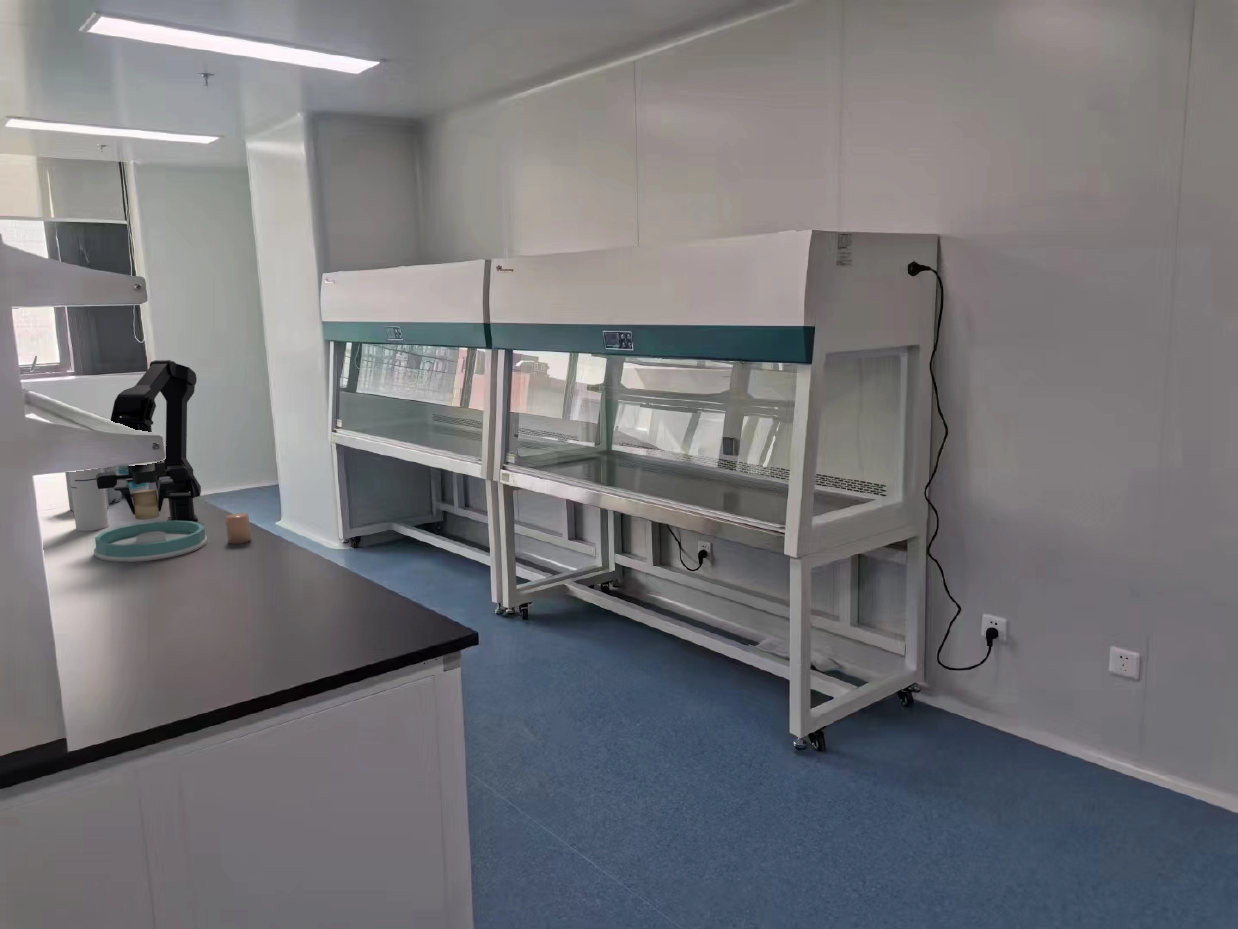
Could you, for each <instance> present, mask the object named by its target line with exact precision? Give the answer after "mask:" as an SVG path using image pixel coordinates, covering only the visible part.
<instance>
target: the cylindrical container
mask: <svg viewBox="0 0 1238 929" xmlns="http://www.w3.org/2000/svg"><path fill="white" fill-rule="evenodd" d="M98 473H103V471H102V468H98V469H91V470H84V471H76V472H69V476H70V484H71V492H72V500H73V508H74V511H73V514H74V521H75V522H74V524H75V530H76V531H80V532H90V531H99V530H102V529H105V528H108V527H109V525H110V522H109V515H108V509H107V505H106V496H105V489H98V487H97V481H96V475H97V474H98Z"/></svg>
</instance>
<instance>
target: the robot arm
mask: <svg viewBox="0 0 1238 929" xmlns="http://www.w3.org/2000/svg"><path fill="white" fill-rule="evenodd" d="M196 374H197V373H196V372H195V371H194V370H193V369H192V368H190V367H189V366H186V365H183V364H179V363H177V362H175V361H174V360H171V359H157V360H156V359H155V360H153V361H151V362H150V363H149V367H148V369H147V370H146V371H145V372H144V374H143V375H142V376H141V378H140V379H139V380H138V382H137V383H136V384H135V385H134V386H132V387H129V388H127V389H123V390H122V391H121V392H120V393H119V394H117V395H116V398H115V399H114V402H113V406H112V411H111V416H110V420H111V421H113V422H115V423H120V424H123V425H125V426H128V427H130V428H133V429H135V430H142V431H148V432H152V433H153V431H152V430H153V429H152V426H153V425H154V421H153V416H154V413H155V410H156V407H157V404H156V401H155V400H156V398H157V396H158V395H159V393H160V394H161V395H162V396H163V398H164V400H165V402H166V405H165V408H166V409H165V410H166V411H165V456H166V459H165V458H164V459H165V460H164V459H162V460H163V461H160V462H157V463H152V464H147V465H135V466H128V474H123V475H116V473H115V472H105V473H98V474H97V475H96V481H97V487H98V489H105V488H114V490H115V491H120V492H121V496H123V497H124V499H125V501H126V502H127V504H128V506H129V508H130V510H131V513H132V515H133V516H135V509H134V503H133V497H132V495H131V494H130V490H129V487H128V484H127V482H133V483H134V484H141V483H148V484H149V483H150V484H155V486H156V491H157V500H158V509H159V512H161V511H162V507H163V504H164V500H165V499H168V509H169V516H168V517H167V521H175V520H177V521H192V522H197V521H199V518H198V516H197V515H196V513H195V505H194V504H195V503H194V499H195V498H199V497H201V493H202V488H201V487H202V486H201V485H200V483H199V481H198V480H197V478H196V476H195V475H194V468H193V467H192V465H191V464H190V462H189V460H188V458H187V451H188V450H187V448H188V447H187V444H188V443H187V441H188V440H187V438H188V437H187V436H188V427H187V426H188V402H189V400H191V398H192V397H193V395H194V393H195V388H196V384H197V375H196Z"/></svg>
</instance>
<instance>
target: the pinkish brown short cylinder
mask: <svg viewBox="0 0 1238 929" xmlns="http://www.w3.org/2000/svg"><path fill="white" fill-rule="evenodd" d="M225 524H226V533H227V543H228V542H229V543H228V544H231V543H232V544H236V545H237V544H243V543H244V542H245V543H247V542H251V541H252V535H251V525H250V516H249V514H248V513H245V512H244V513H243V512H242V513H232V514H228V515H226V516H225ZM245 543H244V544H245Z"/></svg>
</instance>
